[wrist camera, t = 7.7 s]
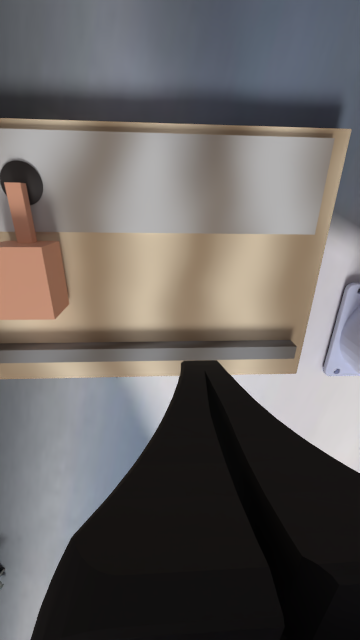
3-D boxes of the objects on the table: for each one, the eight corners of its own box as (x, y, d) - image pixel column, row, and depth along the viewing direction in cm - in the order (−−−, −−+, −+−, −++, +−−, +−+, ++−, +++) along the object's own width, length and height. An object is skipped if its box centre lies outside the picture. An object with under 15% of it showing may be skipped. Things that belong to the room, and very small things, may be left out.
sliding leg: (49, 184, 15) (28, 180, 12) (69, 304, 17) (54, 319, 15) (-7, 183, 14) (-39, 179, 12) (22, 304, 17) (0, 320, 15)
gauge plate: (335, 135, 16) (386, 115, 12) (288, 363, 22) (312, 394, 19) (-164, 120, 14) (-276, 92, 11) (-61, 368, 21) (-109, 403, 17)
